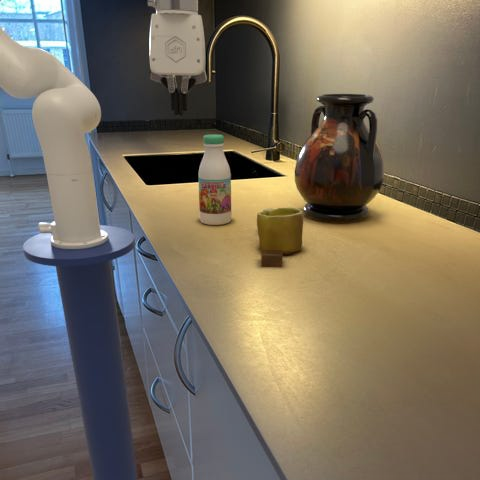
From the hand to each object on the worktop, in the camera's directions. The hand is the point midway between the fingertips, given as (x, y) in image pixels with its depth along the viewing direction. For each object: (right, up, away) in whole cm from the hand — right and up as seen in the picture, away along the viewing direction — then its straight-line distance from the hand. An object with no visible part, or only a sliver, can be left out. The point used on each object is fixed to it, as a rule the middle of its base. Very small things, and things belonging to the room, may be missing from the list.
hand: (179, 114), depth 101 cm
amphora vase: (+36, -14, +29) cm, 48 cm away
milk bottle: (+6, -16, +25) cm, 30 cm away
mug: (+20, -25, +7) cm, 33 cm away
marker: (+18, -30, -2) cm, 35 cm away
